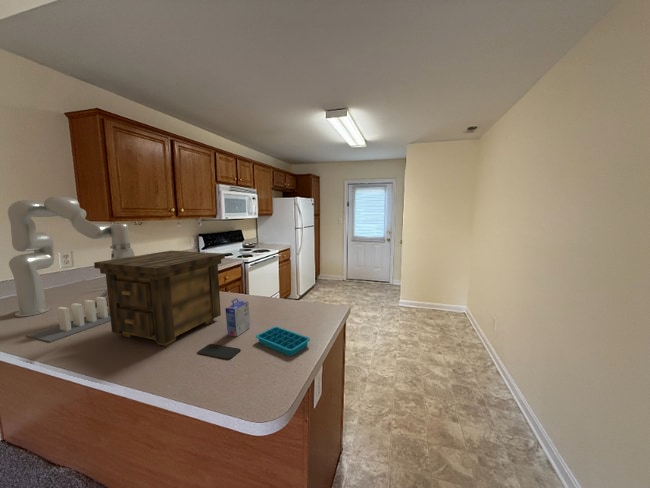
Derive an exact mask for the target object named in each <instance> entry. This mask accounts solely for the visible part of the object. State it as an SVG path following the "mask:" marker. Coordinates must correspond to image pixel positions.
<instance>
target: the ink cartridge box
mask: <svg viewBox="0 0 650 488" xmlns="http://www.w3.org/2000/svg"><path fill="white" fill-rule="evenodd" d="M235 301H236V302H235ZM231 303H232V304H230V305H229V306H227V307H226V308H224V309H225V319H226V320H225V321H226V329H227V332H226V333H227V336H232V337H238V336H240V335H242V333H244V332H245V331H247V330H248V329H250V328H251V319H250V318H251V317H250V306H249V305H250V303H249V301H245V300H244V301H243V300H239V299H238V298H237V297H236V298H233V299H232V300H231Z"/></svg>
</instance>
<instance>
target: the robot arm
mask: <svg viewBox="0 0 650 488" xmlns="http://www.w3.org/2000/svg"><path fill="white" fill-rule="evenodd" d="M7 217H8V221H9V224H10V235H11V245H12V248H13V249H14V250H15V251H17V252H22V254H18V255H15V256H13V257H12V258H10V260H9V262H8V267H9V269H10V271H11V273H12V276H13V281H14V285H15V291H16V292H15V293H16V297H17V299H16V300H17V304H18V311H17V312H15V313H14V316H15V317H19V318H22V317H30V316H36V315H40V314H43V313H47V312H49V311H50V310H51V307H50V306H49V305H48V306H47V305H46V297H45V291H44V283H43V278H42V276H41V275H40V273H38V271H39V270H44V269H47V268H50V267H51V266H53V265H54V261H55V250H54V240H53V238H52V237H51V235H50V234H48V233H46V232H43V231H37V226H36V223H35V221H34V220H33V219H32V218H51V217H60V218H62V219H64V220H65V221H68V222H70V224H71V226H72V228H73V229H74V230H75V231H76V232H78V233H80V234H81V235H83V236H85V237H87V238H90V239H92V240H93V239H94V240H99V239H107V238H108V239H109V238H111V245H110V246H109V248H110V249H112V250H111V253H110V254H111V255H110V260H113V259H120V258H126V257H133V256H136V255H135V251H134V249H133V248H132V247H131V239H130V231H129V225H128V224H127V223H94V222H91V221H90V220H88V219H86V218H87V211H86V210H85V209H83V208H82V207H80V203H79V201H78V200H77V199H76V198H74V197H70V196H59V195H58V196H57V195H54V196H53V195H52V196H49V197H47V198H45V200H32V199H30V200H29V199H27V200H17V201H14V202H13V203H11V204H10V205H9V207H8V208H7ZM32 251H33V252H32ZM23 252H27V253H23ZM29 252H30V253H29Z"/></svg>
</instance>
